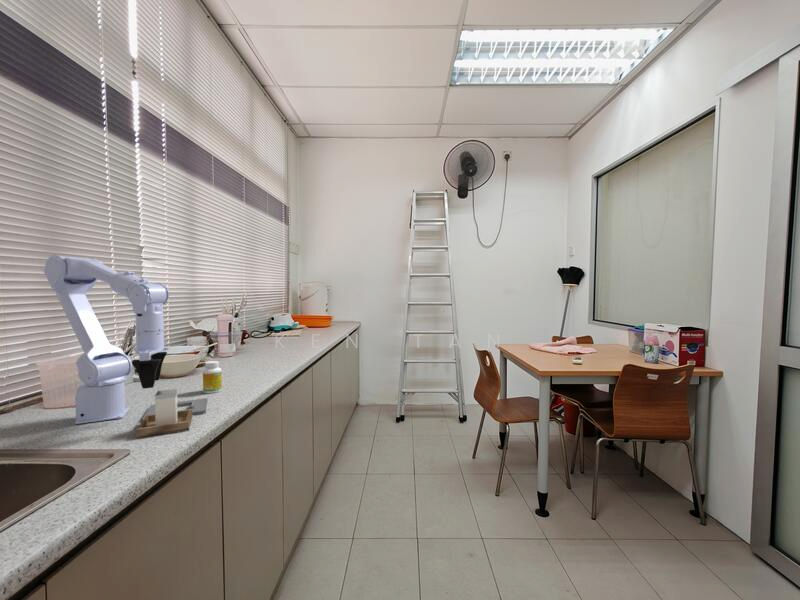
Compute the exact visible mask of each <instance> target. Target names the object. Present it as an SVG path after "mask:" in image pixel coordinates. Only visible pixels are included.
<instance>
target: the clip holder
mask: <svg viewBox="0 0 800 600" xmlns="http://www.w3.org/2000/svg"><path fill="white" fill-rule="evenodd" d="M208 401H209V399H208V397H207V398H205V397H204V398H197V399H190V400H182V401H181V400H180V401H177V408H179V406H181V407H187V406H190V407H191V408H190V409H192V416H196V415H197V414H198V415H203V414H204V413H205V414H206V412H207V408H208ZM151 414H155V404H151V405H150V406H149V407H148V409H147V410H146V412H145V414H144V415H143V416H142V418H141V421H142V420H143V419H144V417H145V416H146V415H151Z"/></svg>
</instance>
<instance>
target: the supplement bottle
mask: <svg viewBox="0 0 800 600" xmlns="http://www.w3.org/2000/svg"><path fill="white" fill-rule="evenodd" d="M204 366H205V367H204V368H203V370H202V392H203V393H204V394H214V393H218V392H221V391H222V389H223V388H222V387H223V386H222V385H223V384H222V383H223V381H222V380H223V379H222V368H221V367H219V366H220V361H218V360H208V361H205V362H204Z"/></svg>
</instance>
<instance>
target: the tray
mask: <svg viewBox="0 0 800 600" xmlns="http://www.w3.org/2000/svg"><path fill="white" fill-rule="evenodd" d="M177 412H178V421H177V423H171V424H165V425H158V426H156V420H155V414H151V415H146V416H145V417H144V416H143V417H144V419H143V420H142V419H141V422H140V424H139V425H138V427H137V428H136V439H141V438H148V437H155V436H160V435H161V436H162V435H166V434H168V435H169V434H173V433H179V432H178V431H181V432H186V431H185V430H187V431H189V430H190V428H189V427H191V423H192V419H193V415H192V409H191V408H189V409H182V410H177Z"/></svg>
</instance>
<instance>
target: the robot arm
mask: <svg viewBox="0 0 800 600" xmlns="http://www.w3.org/2000/svg"><path fill="white" fill-rule="evenodd" d="M43 273H44V275H45V277H46V279H47V281H48V283H49V285H50V287H51V290H52V291H54V292H55V294H56V297H57V299H58V302H59V303H60V306H61V307H62V310H63V312H64V314H65V315H66V318H67V320H68V322H69V325H70V326H71V329H72V331H73V332H74V335H75V336H76V338H77V340H78V343H79V344H80V347H81V348H82V351H83V353H82V354H81V355H80V356H79V357H78V358H77V359H76V362H75V364H76V366H77V371H78V378H79V380H80V381H81V382H82V384H83V385H82V384H81V385H79V386H78V387H77V389H76V392H75V401H74V402H75V405H74V406H75V421H74V424H75V425H79V424H87V423H94V422H101V421H109V420H115V419H118V420H119V419H123V418H124V416H126V414H127V413H128V412H129V411H130V410H131V407H130V406H128V407H126V401H125V400H126V398H125V397H126V396H125V395H126V394H125V393H126V392H125V391H126V390H125V381H126V380H128V376H129V375H130V374H131V372H133V371H132V370H133V368H134V369H135V370H136V372H137V375H138V378H139V381H140V385H141V387H142V388H141V389H151V388H152V389H153V388H154V386H155V382H156V381H159V379H160V376H161V373H162V366H163V363H164V360H165V359H166V356H167V354H168V352H167V351H169V350H170V349H171V348H170V346H165V336H164V334H165V331H164V330H165V328H164V327H165V325H164V305H166V303H167V302H168V301H169V299H170V298H169V297H170V296H169V295H170V293H169V290H168V288H167V287H166V286H165V285H163V284H162V283H160V282H158V283H151V282H150V281H149V279H147V278H141V277H139V276H137V275H136V273H135V271H129V270H126V271H120V272H118V271H116V270H115V269H113V268H111V267H109V266H107V265H106V264H104V263H103V262H102V260H98V259H97V258H94V257H89V258H88V257H78V256H77V257H76V256H67V255H66V256H65V255H64V256H63V255H61V254H60V255H59V254H54V255H51V256H49V257H48V258H47V260H46V262H45V265H44V269H43ZM98 280H99V281H101V282H104V283H107V284H108V285H109V287H110V289H111V291H113V292H114V293H117V294H119V295H121V296H123V297H125V298H127V299H128V301H129V303H130V304H131V305H132V311H133V313H134V314H135V349H134V352H135V353H136V354H137V355H139V356H138V358H139V359H133V360H131V358H130V357H129V356H128V355H127V354H125V352H124V350H123V348H121V347H119V346H116V345H113V344H112V343H110V342H109V340H108V338H107V335H106V334H105V332H104V330H103V328H102V326H101V324H100V321H99V319H98V318H97V316H96V313H95V311H94V310H93V307H92V305H91V304H90V302H89V299H88V297H87V296H86V293H89V292H90V291H92V290H93V288H94V286H95V285H96V283H97V281H98Z"/></svg>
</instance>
